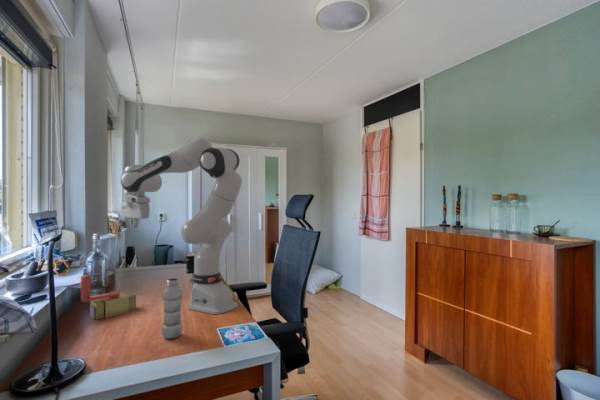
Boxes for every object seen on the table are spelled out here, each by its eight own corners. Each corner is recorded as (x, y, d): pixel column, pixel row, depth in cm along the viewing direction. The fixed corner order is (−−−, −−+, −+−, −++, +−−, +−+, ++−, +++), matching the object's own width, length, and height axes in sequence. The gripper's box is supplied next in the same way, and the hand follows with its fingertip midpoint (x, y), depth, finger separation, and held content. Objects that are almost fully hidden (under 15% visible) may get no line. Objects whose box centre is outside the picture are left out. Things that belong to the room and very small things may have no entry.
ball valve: (202, 285, 171) (202, 253, 171) (185, 286, 169) (186, 254, 169) (203, 277, 188) (204, 248, 188) (188, 278, 186) (189, 248, 186)
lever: (118, 293, 133) (118, 270, 133) (120, 295, 130) (120, 272, 130) (79, 300, 123) (80, 275, 123) (81, 303, 120) (81, 277, 120)
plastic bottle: (175, 331, 113) (176, 276, 113) (185, 336, 108) (186, 279, 108) (158, 337, 108) (158, 279, 108) (168, 343, 103) (168, 283, 103)
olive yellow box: (129, 305, 139) (130, 290, 139) (137, 309, 134) (137, 294, 134) (88, 315, 126) (88, 299, 126) (95, 320, 121) (95, 303, 121)
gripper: (116, 199, 153) (116, 227, 153) (138, 198, 141) (138, 229, 141) (129, 199, 158) (129, 226, 158) (152, 199, 146) (152, 228, 146)
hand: (134, 227), depth 149 cm, fingers closed
